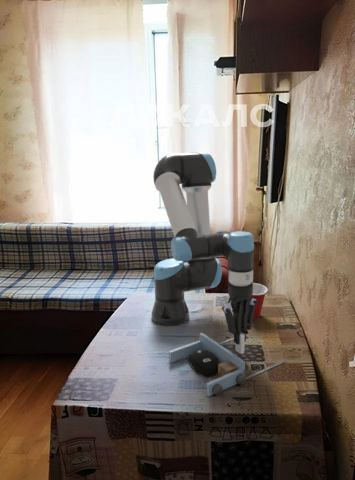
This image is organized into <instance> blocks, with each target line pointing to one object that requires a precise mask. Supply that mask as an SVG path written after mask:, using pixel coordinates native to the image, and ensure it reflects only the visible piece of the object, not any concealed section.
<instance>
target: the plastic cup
mask: <svg viewBox="0 0 355 480" xmlns="http://www.w3.org/2000/svg"><path fill="white" fill-rule="evenodd" d="M252 283H253V294H252V298H253V299H256V300H258V303H257V306H256V308H255V313H254V318H253V319H258V318H260V316H261V314H262V309H263V305H264V300H265V296H266V294H267V292H268V291H269V290H268V287H267V286H265V285H263V284H261V283H256V282H252Z"/></svg>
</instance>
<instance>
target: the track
mask: <svg viewBox="0 0 355 480" xmlns="http://www.w3.org/2000/svg"><path fill="white" fill-rule="evenodd" d="M231 341H234V337H232V338H229V339H226V340H224V341H221V342H219V343H218V342H217V343H218V344H220V345H221V346H222V345H223V344H226V343H228V342H231ZM185 358H188V356H187V357H185ZM185 358H182V359H185ZM182 359H179V360H177V361H174V362H178V361H180V360H182ZM174 362H170V363H171V364H172V363H174ZM285 362H286V361H285V360H280V361H279V362H277V363H274V364H272V365H270V366H268V367H265V368H263V369H261V370H259V371H257V372H255V373H252V374H249V375H247V376H246V381H247V380H249V379H251V378H253V377H256V376H257V375H260V374H263V373H264V372H266V371H268V370H271V369H273V368H275V367H278V366H280V365H281V364H284V363H285ZM235 385H239V383H237V384H235ZM235 385H233V386H232V387H234V386H235ZM229 388H230V387H228V388H226V389H224V390H228V389H229ZM224 390H222V392H223V391H224ZM213 395H214V396H215V394H213ZM213 395H211V396H213ZM211 396H210V397H211Z"/></svg>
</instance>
